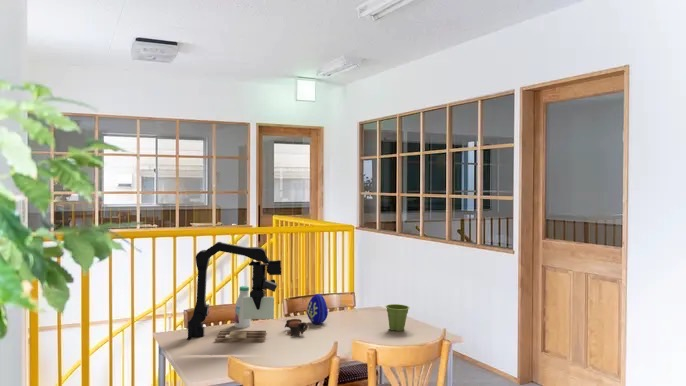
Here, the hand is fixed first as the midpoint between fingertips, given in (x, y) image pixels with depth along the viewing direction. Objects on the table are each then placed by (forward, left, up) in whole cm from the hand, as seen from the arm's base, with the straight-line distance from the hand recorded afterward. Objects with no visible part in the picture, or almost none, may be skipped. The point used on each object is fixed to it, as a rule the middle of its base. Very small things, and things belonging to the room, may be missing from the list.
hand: (258, 308), depth 246 cm
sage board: (0, 0, -4) cm, 5 cm away
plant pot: (+67, +14, -13) cm, 70 cm away
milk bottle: (-9, +17, -13) cm, 23 cm away
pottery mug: (+18, +5, -13) cm, 23 cm away
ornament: (+28, +26, -13) cm, 40 cm away
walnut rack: (-7, -4, -13) cm, 15 cm away
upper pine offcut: (-8, -8, -10) cm, 15 cm away
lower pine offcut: (-9, -8, -12) cm, 17 cm away
